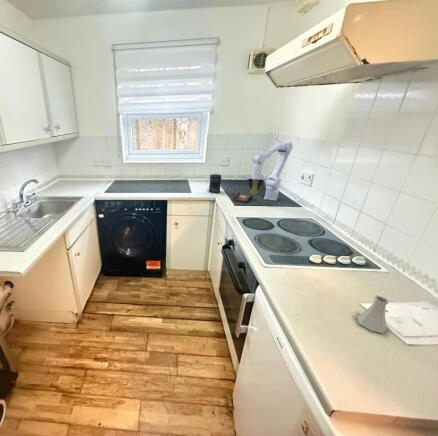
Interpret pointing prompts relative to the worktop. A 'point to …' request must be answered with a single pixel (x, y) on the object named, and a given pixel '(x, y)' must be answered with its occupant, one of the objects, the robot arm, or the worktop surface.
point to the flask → (375, 315)
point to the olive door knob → (254, 187)
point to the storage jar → (215, 183)
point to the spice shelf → (241, 197)
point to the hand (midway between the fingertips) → (254, 189)
